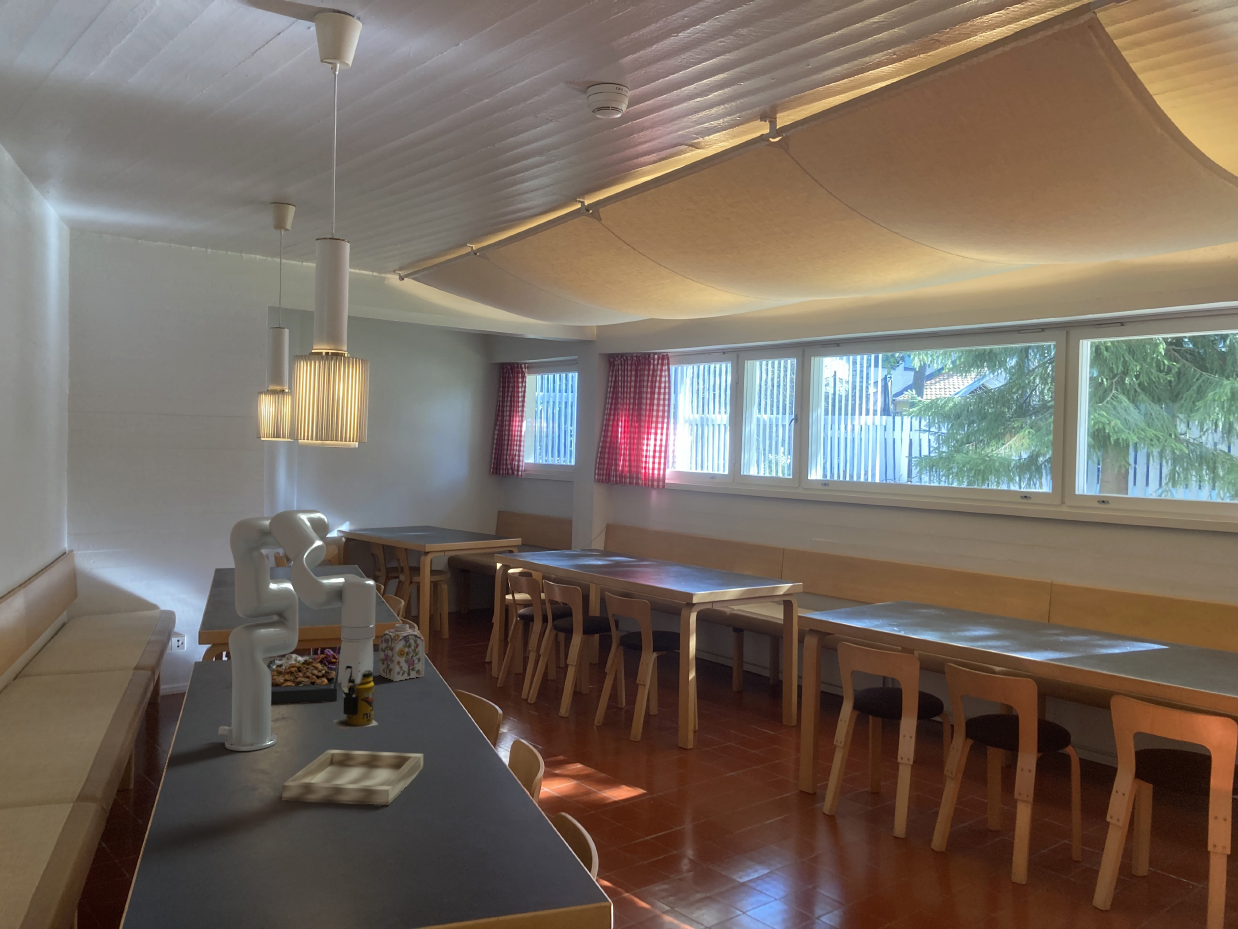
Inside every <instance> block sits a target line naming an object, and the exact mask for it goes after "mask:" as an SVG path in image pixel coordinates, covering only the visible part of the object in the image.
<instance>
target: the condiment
mask: <svg viewBox="0 0 1238 929" xmlns="http://www.w3.org/2000/svg"><path fill="white" fill-rule="evenodd" d="M373 675H374V674H373V673H372V671H371V670H369V671H368V672H367V673H365V674H363V678H362V682H361V683H360V684H358V690H357V696H356V697H358V714H357V715H347V714H345V715H346V718H343V719H334V720H332V721H333V723H334V724H335V725H336V726H337V727H338V728H339V729H340V730H341V731H343V730H349V729H356V728H365V727H373V726H377V725H379V723H378V722H377V721H376V720H374V703H375V698H374V697H375V696H374V695H375V684H374V683H375V682H374V681H373V680H374V678H373ZM354 682H355V681H350V683H354ZM350 687H351V688H352V689H353V690H354V686H350Z"/></svg>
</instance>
